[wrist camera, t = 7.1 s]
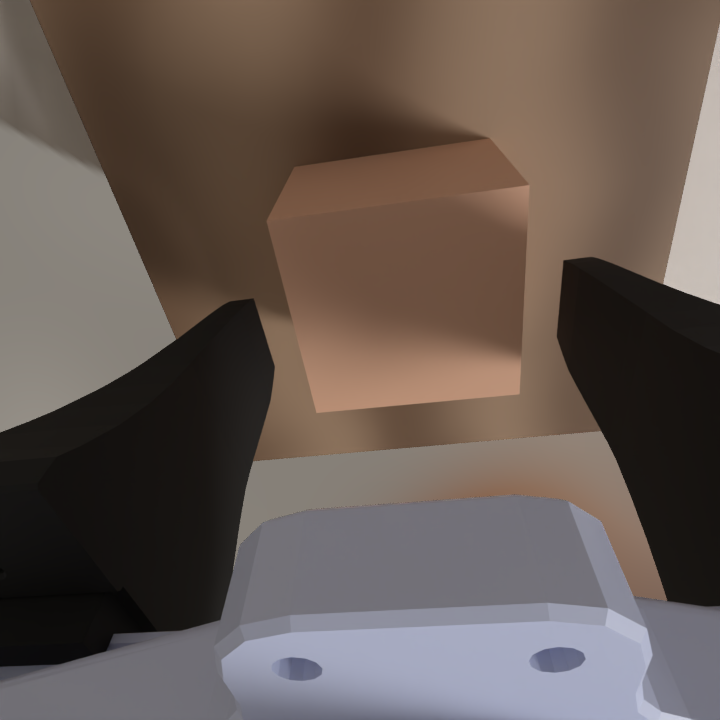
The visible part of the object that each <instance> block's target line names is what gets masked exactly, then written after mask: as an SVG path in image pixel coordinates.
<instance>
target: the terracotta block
mask: <svg viewBox="0 0 720 720" xmlns="http://www.w3.org/2000/svg"><path fill="white" fill-rule="evenodd" d="M529 187H530V185H529V184H528V183H527V181H526V180H525V179H524V178H523V177H522V175H521V174H520V173H519V172H518V171H517V170H516V168H515V167H514V166H513V165H512V164H511V162H510V161H509V160H508V159H507V158H506V157H505V155H504V154H503V153H502V152H501V151H500V150H499V148H498V147H497V146H496V145H495V144H494V142H493V141H492V140H491V139H490V138H487V139H481V140H474V141H467V142H460V143H453V144H447V145H440V146H433V147H426V148H419V149H413V150H406V151H399V152H392V153H386V154H379V155H372V156H365V157H358V158H352V159H345V160H338V161H331V162H324V163H318V164H311V165H304V166H297V167H294V169H293V171H292V173H291V175H290V176H289V178H288V180H287V182H286V184H285V186H284V188H283V190H282V192H281V194H280V196H279V198H278V200H277V201H276V203H275V205H274V207H273V209H272V211H271V213H270V215H269V217H268V219H267V225H268V229H269V233H270V237H271V240H272V244H273V248H274V252H275V256H276V260H277V263H278V267H279V271H280V275H281V279H282V283H283V287H284V290H285V294H286V298H287V302H288V306H289V310H290V313H291V317H292V321H293V325H294V329H295V333H296V336H297V340H298V344H299V348H300V352H301V356H302V359H303V363H304V367H305V371H306V375H307V379H308V382H309V386H310V390H311V394H312V398H313V402H314V405H315V409H316V413H322V412H333V411H344V410H355V409H366V408H376V407H387V406H398V405H409V404H420V403H431V402H442V401H452V400H463V399H474V398H485V397H496V396H507V395H518V394H520V376H521V355H522V334H523V313H524V292H525V271H526V250H527V229H528V208H529Z"/></svg>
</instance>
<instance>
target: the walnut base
mask: <svg viewBox="0 0 720 720" xmlns="http://www.w3.org/2000/svg"><path fill="white" fill-rule="evenodd" d="M30 2H31V4H32V7H33V9H34V11H35V14H36V16H37V18H38V21H39V23H40V25H41V27H42V30H43V32H44V34H45V37H46V39H47V41H48V44H49V46H50V48H51V51H52V53H53V55H54V58H55V60H56V62H57V64H58V67H59V69H60V71H61V74H62V76H63V78H64V81H65V83H66V85H67V88H68V90H69V92H70V94H71V97H72V99H73V101H74V104H75V106H76V108H77V111H78V113H79V115H80V118H81V120H82V122H83V125H84V127H85V129H86V131H87V134H88V136H89V138H90V141H91V143H92V145H93V148H94V150H95V152H96V155H97V157H98V159H99V162H100V164H101V166H102V168H103V171H104V173H105V175H106V178H107V180H108V182H109V185H110V187H111V189H112V192H113V194H114V196H115V198H116V201H117V203H118V205H119V208H120V210H121V212H122V215H123V217H124V219H125V222H126V224H127V226H128V228H129V231H130V233H131V235H132V238H133V240H134V242H135V245H136V247H137V249H138V252H139V254H140V256H141V259H142V261H143V263H144V266H145V268H146V270H147V272H148V275H149V277H150V279H151V282H152V284H153V286H154V289H155V291H156V293H157V296H158V298H159V300H160V303H161V305H162V307H163V309H164V312H165V314H166V316H167V319H168V321H169V323H170V325H171V328H172V330H173V333H174V335H175V337H176V339H178V338H179V337H181V336H182V335H183V334H184V333H186V332H187V331H188V330H190V329H191V328H192V327H194V326H195V325H196V324H198V323H199V322H200V321H201V320H203V319H204V318H205V317H207V316H208V315H209V314H211V313H212V312H213V311H215V310H216V309H218V308H219V307H221V306H222V305H224V304H226V303H227V302H229V301H236V300H244V299H252V298H254V301H255V304H256V307H257V310H258V314H259V317H260V320H261V323H262V326H263V330H264V333H265V336H266V339H267V343H268V346H269V349H270V352H271V355H272V359H273V362H274V365H275V371H274V380H273V388H272V395H271V401H270V405H269V408H268V412H267V415H266V419H265V422H264V426H263V429H262V433H261V436H260V439H259V443H258V446H257V449H256V453H255V456H254V459H253V461H260V460H272V459H283V458H294V457H305V456H317V455H328V454H341V453H351V452H364V451H374V450H386V449H398V448H410V447H421V446H433V445H444V444H455V443H468V442H479V441H491V440H502V439H514V438H525V437H537V436H548V435H560V434H572V433H583V432H595V431H601V429H600V428H599V426H598V424H597V422H596V420H595V419H594V417H593V415H592V413H591V411H590V410H589V408H588V406H587V404H586V402H585V401H584V399H583V397H582V395H581V393H580V391H579V389H578V388H577V386H576V384H575V382H574V380H573V378H572V376H571V374H570V373H569V371H568V368H567V365H566V363H565V360H564V357H563V354H562V351H561V348H560V345H559V342H558V339H557V327H558V315H559V304H560V293H561V281H562V270H563V260H569V259H577V258H585V257H595V258H599V259H602V260H605V261H608V262H610V263H613V264H615V265H618V266H620V267H623V268H625V269H627V270H630V271H632V272H635V273H637V274H639V275H642V276H644V277H647V278H649V279H651V280H654V281H656V282H659V283H661V284H663V281H664V277H665V272H666V267H667V263H668V258H669V254H670V249H671V244H672V240H673V235H674V231H675V226H676V221H677V217H678V212H679V208H680V203H681V198H682V194H683V189H684V185H685V180H686V175H687V171H688V166H689V162H690V157H691V153H692V148H693V143H694V139H695V134H696V130H697V125H698V120H699V116H700V111H701V107H702V102H703V97H704V93H705V88H706V84H707V79H708V74H709V70H710V65H711V61H712V56H713V51H714V47H715V42H716V38H717V33H718V28H719V24H720V0H30ZM487 138H490V139H491V140H492V141H493V142H494V144H495V145H496V146H497V147H498V148H499V150H500V151H501V152H502V153H503V154H504V155H505V157H506V158H507V159H508V160H509V161H510V162H511V164H512V165H513V166H514V167H515V168H516V170H517V171H518V172H519V173H520V174H521V175H522V177H523V178H524V179H525V180H526V181H527V183H528V184H529V185H530V187H529V208H528V229H527V250H526V271H525V292H524V313H523V334H522V355H521V376H520V394H518V395H507V396H496V397H485V398H474V399H463V400H452V401H442V402H431V403H420V404H409V405H398V406H387V407H376V408H366V409H355V410H344V411H333V412H322V413H316V409H315V405H314V402H313V398H312V394H311V390H310V386H309V382H308V379H307V375H306V371H305V367H304V363H303V359H302V356H301V352H300V348H299V344H298V340H297V336H296V333H295V329H294V325H293V321H292V317H291V313H290V310H289V306H288V302H287V298H286V294H285V290H284V287H283V283H282V279H281V275H280V271H279V267H278V263H277V260H276V256H275V252H274V248H273V244H272V240H271V237H270V233H269V229H268V225H267V219H268V217H269V215H270V213H271V211H272V209H273V207H274V205H275V203H276V201H277V200H278V198H279V196H280V194H281V192H282V190H283V188H284V186H285V184H286V182H287V180H288V178H289V176H290V175H291V173H292V171H293V169H294V167H297V166H304V165H311V164H318V163H324V162H331V161H338V160H345V159H352V158H358V157H365V156H372V155H379V154H386V153H392V152H399V151H406V150H413V149H419V148H426V147H433V146H440V145H447V144H453V143H460V142H467V141H474V140H481V139H487Z"/></svg>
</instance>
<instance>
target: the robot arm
mask: <svg viewBox="0 0 720 720" xmlns="http://www.w3.org/2000/svg"><path fill="white" fill-rule="evenodd" d="M557 339H558V342H559V345H560V348H561V351H562V354H563V357H564V360H565V363H566V365H567V368H568V371H569V373H570V374H571V376H572V378H573V380H574V382H575V384H576V386H577V388H578V389H579V391H580V393H581V395H582V397H583V399H584V401H585V402H586V404H587V406H588V408H589V410H590V411H591V413H592V415H593V417H594V419H595V420H596V422H597V424H598V426H599V428H600V429H601V431H602V433H603V435H604V437H605V439H606V440H607V442H608V444H609V446H610V448H611V450H612V452H613V454H614V456H615V458H616V460H617V463H618V465H619V468H620V470H621V473H622V475H623V478H624V480H625V483H626V485H627V488H628V490H629V493H630V495H631V498H632V500H633V503H634V506H635V508H636V511H637V514H638V517H639V519H640V522H641V525H642V527H643V530H644V533H645V535H646V538H647V541H648V544H649V546H650V549H651V553H652V556H653V559H654V561H655V564H656V567H657V570H658V573H659V576H660V579H661V582H662V585H663V588H664V591H665V594H666V598H667V601H663V600H657V599H649V598H643V597H636V596H633V595H632V592H631V590H630V588H629V586H628V583H627V581H626V579H625V576H624V574H623V571H622V569H621V567H620V564H619V562H618V560H617V557H616V555H615V553H614V551H613V548H612V546H611V543H610V541H609V539H608V536H607V534H606V532H605V530H604V527H603V525H602V523H601V521H599V520H598V519H596V518H595V517H593V516H591V515H590V514H588V513H587V512H585V511H583V510H581V509H580V508H578V507H577V506H575V505H573V504H572V503H570V502H568V501H566V500H561V499H554V498H545V497H533V496H524V495H502V496H490V497H474V498H461V499H447V500H433V501H420V502H405V503H392V504H378V505H365V506H352V507H351V506H350V507H337V508H323V509H309V510H305V511H301V512H297V513H293V514H290V515H286V516H282V517H278V518H274V519H271V520H268V521H265V522H263V523H262V524H261V525H260V526H259V527H258V528H257V529H256V530H255V531H253V532H252V533H251V534H250V536H249V537H247V538H246V539H245V540H244V542H242V543H241V545H240V547H239V550H238V554H237V558H236V562H235V566H234V558H235V551H236V545H237V538H238V531H239V524H240V518H241V512H242V506H243V501H244V495H245V489H246V485H247V481H248V477H249V473H250V469H251V466H252V463H253V459H254V456H255V453H256V449H257V446H258V443H259V439H260V436H261V433H262V429H263V426H264V422H265V419H266V415H267V412H268V408H269V405H270V401H271V395H272V388H273V380H274V371H275V365H274V362H273V359H272V355H271V352H270V349H269V346H268V343H267V339H266V336H265V333H264V330H263V326H262V323H261V320H260V317H259V314H258V310H257V307H256V304H255V301H254V298H252V299H244V300H236V301H229V302H227V303H226V304H224V305H222V306H221V307H219V308H218V309H216V310H215V311H213V312H212V313H211V314H209V315H208V316H207V317H205V318H204V319H203V320H201V321H200V322H199V323H198V324H196V325H195V326H194V327H192V328H191V329H190V330H188V331H187V332H186V333H184V334H183V335H182V336H181V337H179V338H178V339H177V340H175V341H174V342H173V343H171V344H170V345H168V346H167V347H165V348H164V349H162V350H161V351H160V352H158V353H157V354H155V355H154V356H153V357H151V358H150V359H148V360H147V361H146V362H144V363H142V364H141V365H139V366H138V367H136V368H135V369H133V370H131V371H130V372H128V373H127V374H125V375H123V376H122V377H120V378H118V379H116V380H114V381H113V382H111V383H109V384H108V385H106V386H104V387H102V388H100V389H98V390H96V391H94V392H92V393H90V394H88V395H86V396H84V397H82V398H80V399H78V400H76V401H74V402H72V403H70V404H68V405H66V406H64V407H62V408H59V409H57V410H55V411H53V412H51V413H48V414H46V415H43V416H41V417H39V418H36V419H34V420H32V421H29V422H26V423H24V424H21V425H19V426H16V427H14V428H11V429H9V430H6V431H3V432H1V433H0V720H720V305H719V304H716V303H713V302H710V301H707V300H704V299H701V298H699V297H696V296H693V295H690V294H687V293H684V292H682V291H679V290H676V289H674V288H671V287H669V286H666V285H664V284H661V283H659V282H656V281H654V280H651V279H649V278H647V277H644V276H642V275H639V274H637V273H635V272H632V271H630V270H627V269H625V268H623V267H620V266H618V265H615V264H613V263H610V262H608V261H605V260H602V259H599V258H595V257H585V258H577V259H569V260H563V270H562V281H561V293H560V304H559V315H558V327H557ZM233 566H234V570H233Z"/></svg>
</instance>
